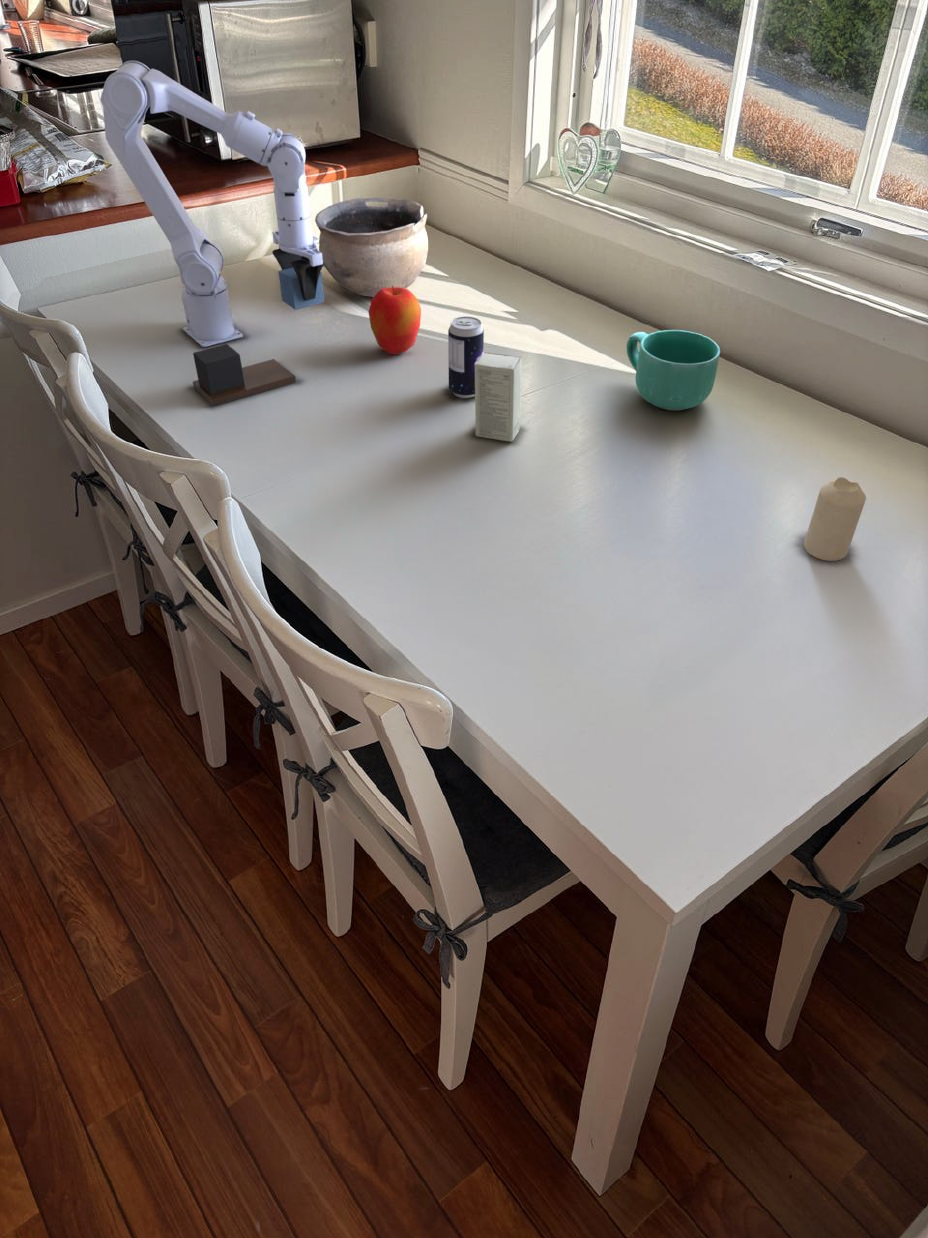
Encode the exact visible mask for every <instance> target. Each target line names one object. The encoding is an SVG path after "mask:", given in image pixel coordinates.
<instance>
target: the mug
mask: <svg viewBox="0 0 928 1238" xmlns="http://www.w3.org/2000/svg"><path fill="white" fill-rule="evenodd" d="M626 341H627V342H626V347H625V348H626V355H627V357H628V360H629V363H630V364H631V366H632V368H633V369H634V370H635V384H636V390H637V391H638V393H639V395H640V396H641V397H642V398H643V399H644V400H645V401H646V402H648V403H650V404H651V405H653V406H654V407H656V408H658V409H662V410H667V411H672V412H673V411H676V412H677V411H684V410H687V409H691V408H694V407H696V406H699V405H700V404H702V403H703V402H704V401H706V400H707V399H708V397H709V396H710V395H711V392H712V390H713V388H714V383H715V380H716V376H717V370H718V366H719V360H720V356H721V355H720V354H721V349H720V346H719V345H718V343H716V342H715V341H714V340H713V339H711V338H710V337H708V336H706V335H705V334H700V333H697V332H694V331H690V330H689V331H688V330H681V329H678V330H677V329H665V330H658V331H654V332H651V333H649V334H648V333H646V332H644V331H637V332H634V333H633V334H631V335H630V336H629V338H628V339H627V340H626Z"/></svg>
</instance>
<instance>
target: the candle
mask: <svg viewBox="0 0 928 1238" xmlns="http://www.w3.org/2000/svg"><path fill="white" fill-rule="evenodd" d="M866 500H867V496H866V494H865V492H864V490H863V489H862V487H861V486H860V484H859V482H855V481H853V482H852V481H850V480H848V479H847V478H845V477H842V476H841V477H838V478H836V479H833V480H831V481H829V482H827V483H824V484H823V485H822V486H821V487H820V488H819V492H818V495H817V499H816V501H815V504H814V508H813V512H812V515H811V518H810V521H809V525H808V528H807V532H806V535H805V539H804V543H803V545H804V546H803V547H804V549H805V551H806V552H807V553H808V554H809V555H810V556H812V557H814V558H816V559H819V560H822V561H828V562H837V561H840V560H842V559H844V558H845V557H846V556H847V555H848V552H849V549H850V547H851V544H852V541H853V538H854V535H855V533H856V529H857V526H858V524H859V522H860V518H861V515H862V512H863V509H864V506H865V504H866Z"/></svg>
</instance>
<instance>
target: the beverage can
mask: <svg viewBox="0 0 928 1238" xmlns="http://www.w3.org/2000/svg"><path fill="white" fill-rule="evenodd" d="M447 331H448V332H447V334H448V335H447V339H448V341H447V344H448V345H447V349H448V351H447V352H448V353H447V355H448V356H447V357H448V358H447V359H448V361H447V362H448V390H449V391H450V392H451V393H453V395H454V396H455V397H458V398H461V399H471V398H475V362H476V361H477V360H478V359H479V357H480V356H481V355H482V353H483V352H484V349H485V348H484V344H485V330H484V327H483V326H482V321H481V320H480V319H479V318H477V317H473V316H458V317H455V318H453V319H452V320H451V321H450V326H449V327H448V330H447Z"/></svg>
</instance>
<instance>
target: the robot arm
mask: <svg viewBox="0 0 928 1238" xmlns="http://www.w3.org/2000/svg"><path fill="white" fill-rule="evenodd" d="M99 101H100V103H101V106H102V111H103V112H102V113H103V121H104V122H103V124H104V135H105V140H106V142H107V145H108V146H109V147H110V149H111V150H112V153H113V154H114V155H115V157H116V159H117V160H118V162H119V163H120V165H121V167H122V168H123V170H124V171H125V174H126V175H127V176H128V177H129V179H130V182H132V184H133V186H134V188H135V190H137V192H138V194H139V195H140V197H141V199H142V200H143V201H144V204H145V205H146V206H147V208H148V209H149V211H150V213H151V214H152V216H153V218H154V219H155V221H156V222H157V223H158V225H159V227H160V229H161V231H162V232H163V234H164V235H165V237H166V238H167V241H168V242H169V243H170V244H169V245H170V247H171V253H172V257H173V260H174V262H175V263H176V265H177V267H178V269H179V277H180V280H181V283H182V284H183V289H182V291H181V300H182V305H183V310H184V316H185V319H186V324H187V325H186V326H184V327H182V330H183V332H185V333H186V334H187V335H188V336H189V337H190V338H191V339H193V340H194V341H195V342H196V343H197V344H199V345H200V346H201V347H203V348H207V347H210V346H213V345H218V344H221V343H225V342H229V341H233V340H236V339H240V338H243V336H244V335H243V333H242V332H240V331H239V330H238V329H237V328H236V327H234V323H233V315H232V310H231V304H230V299H229V292H228V291H229V290H228V287H227V282H226V280H225V279H224V277H223V276H222V274H221V272H222V270H223V268H224V265H225V259H224V255H223V253H222V251H221V249H220V248H219V247H218V246H217V245H216V244H214V243H212V242H211V241H210V240H209V239H208V237H207V236H206V234H205V232H204V231H202V229H200V228H198V227H197V226H196V225H195V223H194V222H193V220H192V218H191V217H190V215H189V213H188V211H187V210H186V208H185V207H184V205H183V204H182V202H181V200H180V198H179V197H178V194H177V193H176V192H175V190H174V188H173V186H172V185H171V184H170V182H169V180H168V179H167V177H166V175H165V174H164V172H163V170H162V168H161V167H160V165H159V163H158V162H157V160H156V159H155V157H154V155H153V154H152V152H151V150H150V148H149V147H148V145H147V144H146V142H145V140H144V139H143V137H142V131H143V127H144V123H145V118H146V113H147V111H148V109H149V110H150V112H149V113H150V114H158V113H165V112H175V113H176V114H178V115H181V116H182V117H184V118H187V119H189V120H191V121H193V122H195V123H197V124H199V125H201V126H203V127H205V128H207V129H209V130H211V131H213V132H215V133H218V134H219V135H221V137H222V139H223V141H224V144H225V146H226V147H227V148H229V149H231V150H232V151H234V152H236V153H238V154H239V155H242V156H244V157H246V158H248V159H250V160H251V161H253V162H255V163H257V164H259V165H261V166H263V167H267V168H268V170H269V172H270V174H271V175H272V178H273V179H272V180H273V197H274V204H275V213H276V221H277V222H276V223H277V230H276V231H272V240H273V244H274V245H278V248H276V249H273V250H272V251H271V252H272V255H273V258H274V259H275V260H276V262H277V263H278V265H279V267H280V270H284V269H289V268H294V270H295V272H296V275H297V277H298V280H299V284H300V289H301V293H302V296H303V299H304V300H305V301H307V300H311V299H315V297H316V290H317V284H318V279H319V275H320V272H321V273H322V270H323V267H324V260H323V259H322V253H321V252H320V251H319V247H317V244H318V245H319V238H318V237H316V236H313V230H312V229H313V228H312V227H313V226H312V217H311V206H310V196H309V188H308V184H307V175H306V171H305V166H306V158H307V157H306V156H307V155H306V149H305V147H304V145H303V143H302V142H301V140H299V138H297V137H296V136H295V135H294V134H292V133H283V132H284V131H283V130H281V129H280V128H277V129H276V130H275V129H273V128H271V127H270V126H268V125H267V124H264V123H263V122H261V121H259V120H257V119H255V117H256V114H255V113H253V112H251V111H249V110H248V111H246V113H244V112H242V111H241V110H238V111H235V112H232V113H228V112H226V111H225V110H223V109H222V108H220V107H218V106H216V105H215V104H213V103H212V102H210V101H209V100H207V99H205V98H203V97H202V96H200V95H199V94H197V93H196V92H193V91H192V90H190V89H189V88H187V87H185V86H184V85H182V84H181V83H179V82H177V81H176V80H174V79H172V78H170V77H169V76H168V75H166V74H164V73H163V72H162V71H160V70H158V69H155V68H151V69H150V68H149V66H147V65H146V64H144V63H143V62H140V61H138V60H127V61H125V62H123V63H122V64H121V65H120V66H118V68H117V70H116V71H115V72H113V73H111V74H109V76H108V77H107V78H106V80H105V82H104V85H103V87H102V92H101V94H100V99H99Z"/></svg>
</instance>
